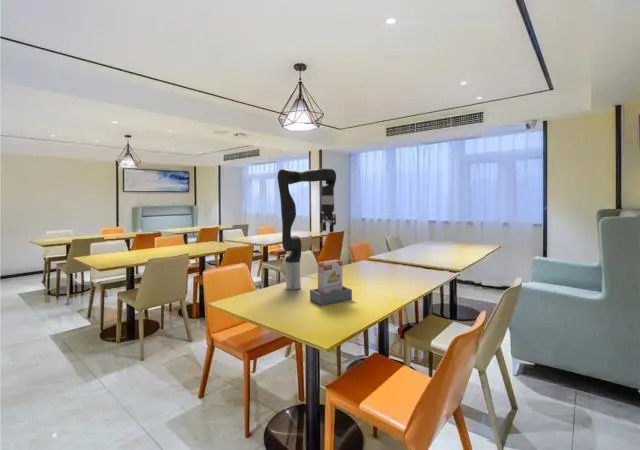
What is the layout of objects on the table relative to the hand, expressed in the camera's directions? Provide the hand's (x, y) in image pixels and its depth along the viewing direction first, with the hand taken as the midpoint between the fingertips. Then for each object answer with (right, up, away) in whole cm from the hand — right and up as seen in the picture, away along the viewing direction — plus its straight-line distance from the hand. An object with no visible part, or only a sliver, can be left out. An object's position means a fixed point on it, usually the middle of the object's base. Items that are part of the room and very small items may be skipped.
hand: (327, 231), depth 196 cm
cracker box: (+1, -37, -8) cm, 38 cm away
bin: (+1, -38, -8) cm, 39 cm away
